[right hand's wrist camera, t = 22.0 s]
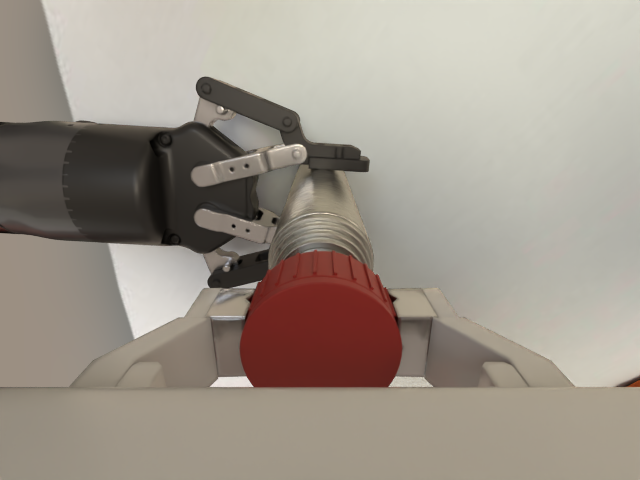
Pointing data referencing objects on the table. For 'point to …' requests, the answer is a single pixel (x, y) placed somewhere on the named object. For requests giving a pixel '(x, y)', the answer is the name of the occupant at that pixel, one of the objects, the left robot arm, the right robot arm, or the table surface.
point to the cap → (321, 325)
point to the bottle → (320, 219)
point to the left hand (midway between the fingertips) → (362, 199)
